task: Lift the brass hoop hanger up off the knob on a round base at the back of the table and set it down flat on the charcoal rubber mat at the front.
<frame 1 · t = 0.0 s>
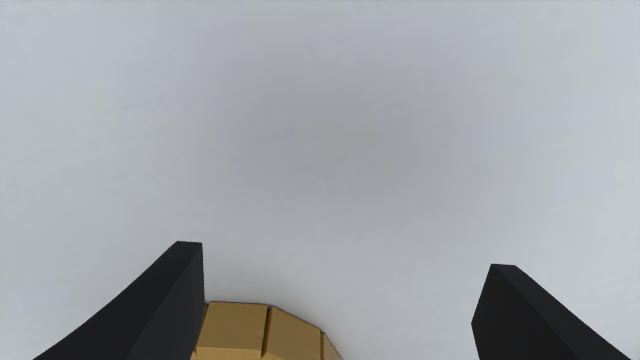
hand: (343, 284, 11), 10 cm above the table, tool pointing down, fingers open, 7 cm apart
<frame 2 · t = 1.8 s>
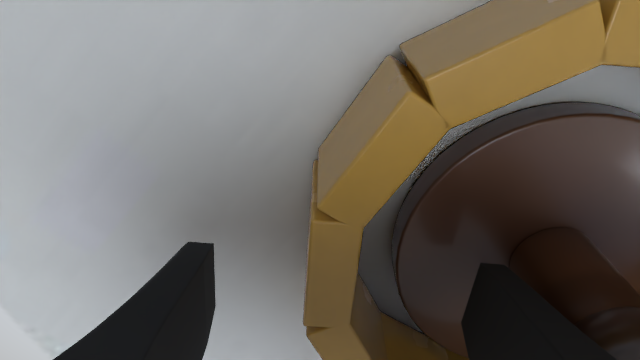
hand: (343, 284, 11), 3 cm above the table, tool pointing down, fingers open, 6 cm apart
hoop: (527, 221, 14), on the table
knob on round base: (536, 240, 14), on the table
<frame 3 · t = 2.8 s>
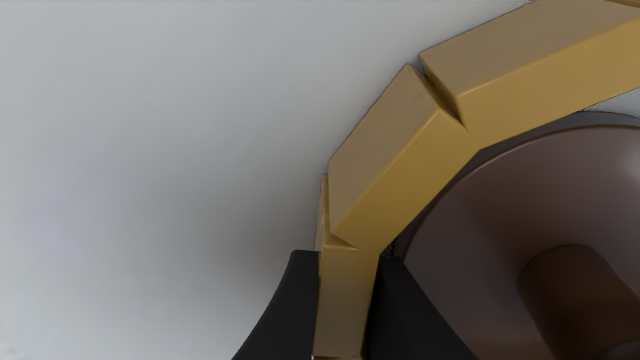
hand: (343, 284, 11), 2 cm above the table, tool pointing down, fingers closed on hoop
hoop: (546, 241, 13), on the table, touching arm, gripper
knob on round base: (546, 257, 13), on the table
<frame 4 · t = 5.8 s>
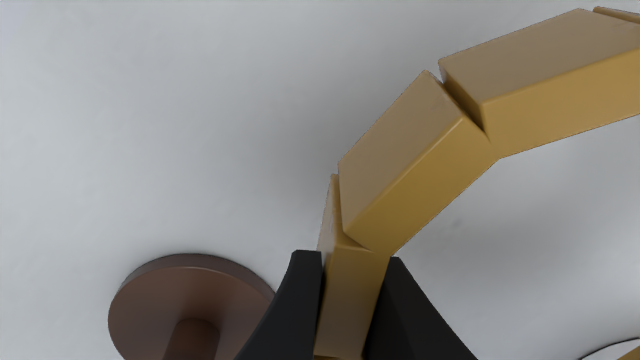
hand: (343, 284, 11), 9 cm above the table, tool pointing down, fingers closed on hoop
hoop: (545, 253, 13), point 7 cm above the table, touching gripper
knob on round base: (201, 321, 24), on the table
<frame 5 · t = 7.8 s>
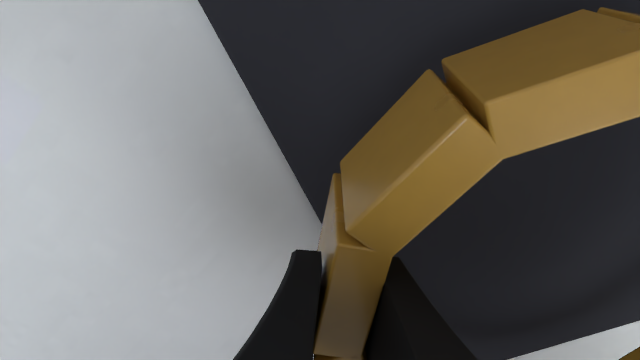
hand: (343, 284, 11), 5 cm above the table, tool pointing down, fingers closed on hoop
hoop: (546, 254, 13), point 3 cm above the table, touching gripper
mat: (534, 94, 14), on the table
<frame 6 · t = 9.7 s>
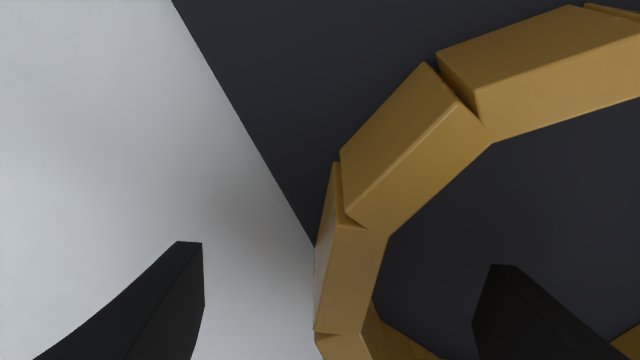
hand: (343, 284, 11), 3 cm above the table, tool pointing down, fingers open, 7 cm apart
hoop: (537, 240, 14), resting on mat
mat: (568, 116, 12), on the table
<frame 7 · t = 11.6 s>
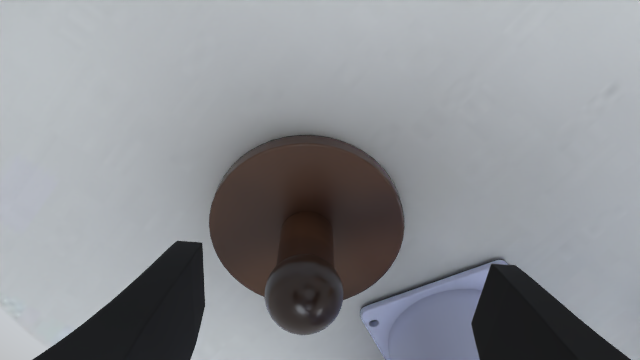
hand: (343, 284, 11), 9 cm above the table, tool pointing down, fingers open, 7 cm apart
knob on round base: (307, 221, 22), on the table
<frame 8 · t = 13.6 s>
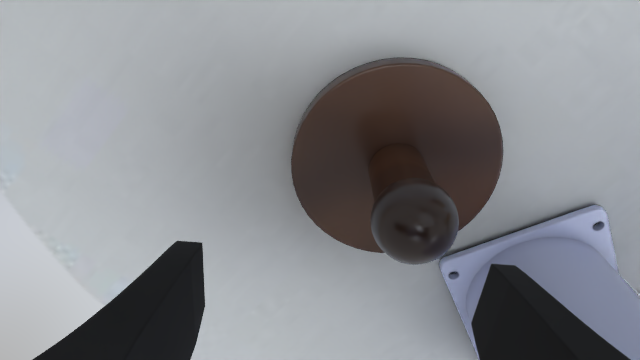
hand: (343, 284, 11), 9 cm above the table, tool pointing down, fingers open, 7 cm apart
knob on round base: (393, 159, 20), on the table
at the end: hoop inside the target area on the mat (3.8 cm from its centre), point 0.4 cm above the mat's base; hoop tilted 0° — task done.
